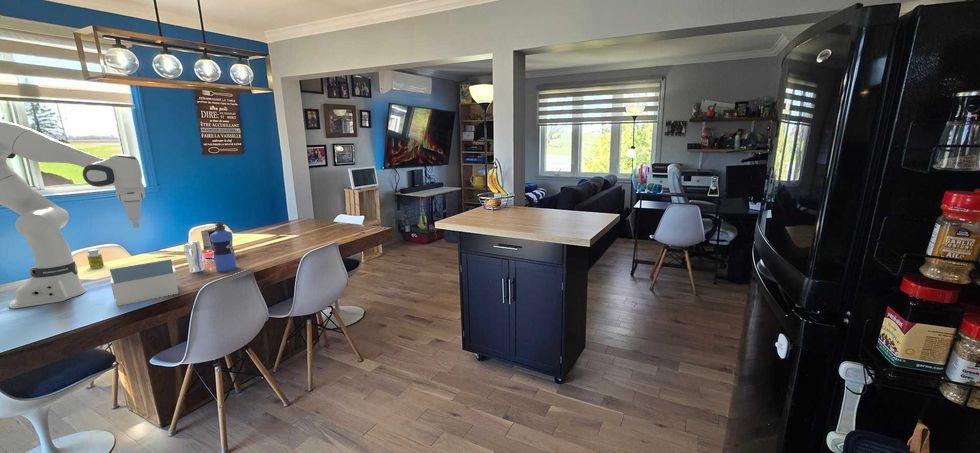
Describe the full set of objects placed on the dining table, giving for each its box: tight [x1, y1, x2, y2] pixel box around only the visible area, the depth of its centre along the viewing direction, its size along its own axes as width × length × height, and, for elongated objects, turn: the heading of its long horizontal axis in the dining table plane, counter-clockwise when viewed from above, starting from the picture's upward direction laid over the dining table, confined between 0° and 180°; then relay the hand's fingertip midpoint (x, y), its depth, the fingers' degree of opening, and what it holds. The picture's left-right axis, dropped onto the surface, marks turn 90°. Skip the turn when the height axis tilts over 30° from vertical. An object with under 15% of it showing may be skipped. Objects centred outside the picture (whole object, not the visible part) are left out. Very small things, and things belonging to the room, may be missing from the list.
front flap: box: [109, 259, 173, 284], centre depth 166 cm, size 19×9×1 cm
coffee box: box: [200, 227, 216, 251], centre depth 232 cm, size 9×6×16 cm
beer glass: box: [183, 240, 205, 274], centre depth 207 cm, size 7×7×15 cm
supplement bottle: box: [87, 248, 105, 269], centre depth 216 cm, size 5×5×10 cm
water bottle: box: [210, 221, 238, 273], centre depth 207 cm, size 9×9×25 cm
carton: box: [110, 264, 180, 307], centre depth 175 cm, size 21×14×10 cm
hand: (136, 227), depth 169 cm, fingers closed
